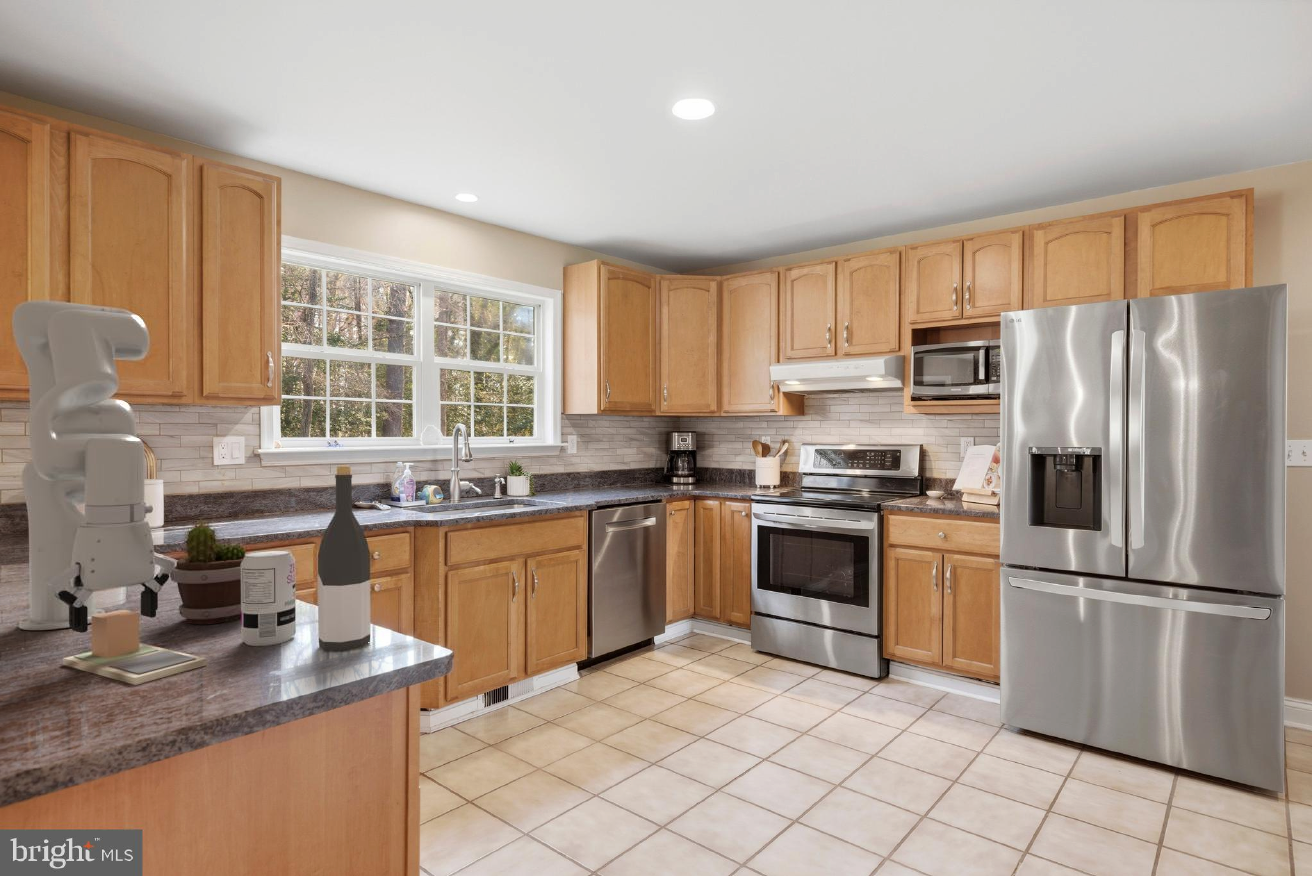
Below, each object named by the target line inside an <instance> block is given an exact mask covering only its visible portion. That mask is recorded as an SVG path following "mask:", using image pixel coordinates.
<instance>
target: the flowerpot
mask: <svg viewBox="0 0 1312 876" xmlns="http://www.w3.org/2000/svg"><path fill="white" fill-rule="evenodd" d="M193 520H194V521H195V522H192V523H193V524H190V525H191V529H189V527H187V530H185V531H184V534H183V537H184V538H185V539H184V538H182V544H183V545H184V548H183V550H181V552H182V553H183V555H184V556H185V557H181V558H180V559H177V561H176V564H175V566H174V568H173V570H172V572H171V574H170V575H169V579H170V580H171V581H172V582H174V583H177V589H178V594H179V596H180V599H181V602H182V604H180V605H179V606H178V610H179V612H178V614H179V615H180V617H182V618H184V619H185V620H186V622H187V623H189V624H193V625H194V624H195V625H215V624H216V625H217V624H222V623H228V622H233V621H237V620H238V619H241V562H242V561H243V559H244V557H245V554H247V553H248V552H246V551H245V543H241V544H238V545H237V543H238V542H239V540H237V541H236V542H235V543H234V542H232V543H231V544H230V545H228V542H224V544H221V543H220V541H221V539H220V537H219V538H218V535H217V534H220V533H219V531H217V530H218V529H216V527H214V528H212V525H211V524H210V523H209V520H206V519H205V520H202V519H201V517H200V516H199V520H200V522H199V520H197V519H193ZM216 532H217V533H216ZM219 543H220V544H219ZM225 546H226V547H225ZM242 546H243V547H242Z"/></svg>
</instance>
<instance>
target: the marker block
mask: <svg viewBox="0 0 1312 876" xmlns="http://www.w3.org/2000/svg"><path fill="white" fill-rule="evenodd" d="M90 624H91V652H92V654H93V655H97V656H101V657H104V658H111V657H115V656H119V655H123V654H127V653H131V652H135V651H139V643H140V612H138V611H132V610H128V609H119V610H114V611H110V612H105V613H103V614H98V615H93V616H91V623H90Z"/></svg>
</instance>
